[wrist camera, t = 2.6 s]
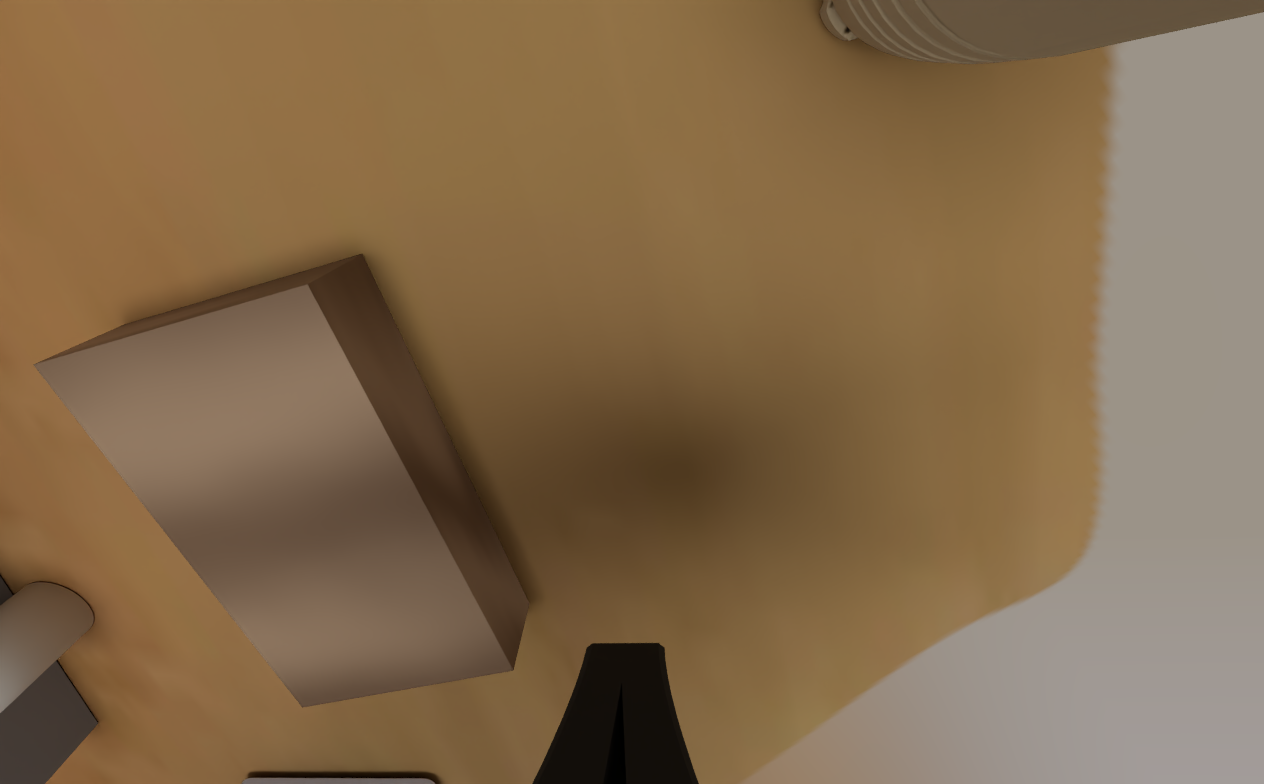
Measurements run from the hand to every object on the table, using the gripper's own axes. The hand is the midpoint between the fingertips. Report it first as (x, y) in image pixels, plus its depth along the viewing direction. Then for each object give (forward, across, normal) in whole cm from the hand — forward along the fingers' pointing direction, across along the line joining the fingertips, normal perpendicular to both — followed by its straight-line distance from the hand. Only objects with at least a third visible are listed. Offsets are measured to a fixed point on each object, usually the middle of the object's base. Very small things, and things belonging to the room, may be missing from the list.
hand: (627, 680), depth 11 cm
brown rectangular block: (+7, +9, 0) cm, 11 cm away
